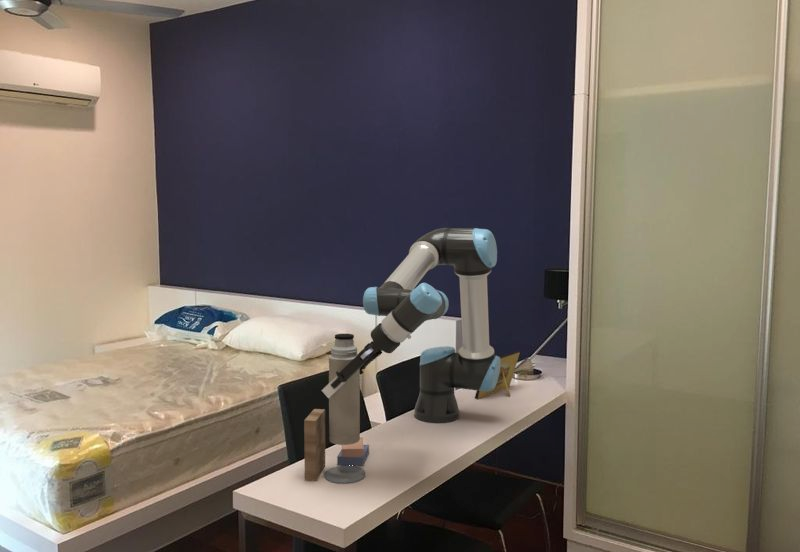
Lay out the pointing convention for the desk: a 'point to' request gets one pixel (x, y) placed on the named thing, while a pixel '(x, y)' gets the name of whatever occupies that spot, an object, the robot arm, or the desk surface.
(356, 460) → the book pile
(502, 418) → the desk surface
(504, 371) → the picture frame
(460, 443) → the desk surface
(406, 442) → the desk surface
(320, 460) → the bookend
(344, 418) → the thermos bottle
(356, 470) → the coaster
